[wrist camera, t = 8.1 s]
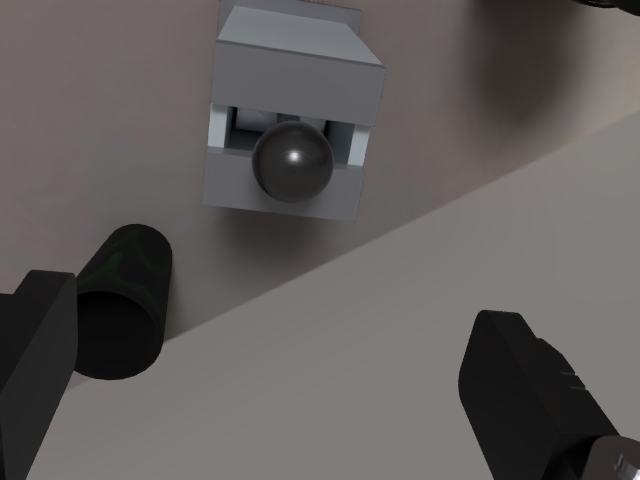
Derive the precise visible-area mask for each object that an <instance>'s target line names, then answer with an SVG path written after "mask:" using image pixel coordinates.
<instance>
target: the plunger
mask: <svg viewBox="0 0 640 480" xmlns="http://www.w3.org/2000/svg"><path fill="white" fill-rule="evenodd" d="M325 122H326V120H325V119H317V118H310V117H303V116H296V115H289V114H282V113H275V112H268V111H261V110H254V109H247V108H240V107H238V111H237V120H236V128H237V129H244V130H251V131H259V132H264V133H263V134H262V135H261V136H260V138H259V139H258V140H257V142H256V144H255V147H254V150H253V153H252V170H253V175H254V177H255V180H256V181H257V183H258V185H259V186H260V188H261V189H262V190H263V191H264V192H265V193H266V194H267V195H269V196H270V197H272V198H273V199H275V200H277V201H280V202H283V203H291V204H295V203H302V202H306V201H309V200H311V199H313V198H314V197H316V196H317V195H318V194H320V193H321V192H322V191H323V190H324V189H325V187H326V186H327V185H328V183H329V181H330V179H331V176H332V173H333V168H334V157H333V152H332V148H331V146H330V144H329V142H328V140H327V139H326V137H325V136H324V135H323V134H324V128H325Z"/></svg>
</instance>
